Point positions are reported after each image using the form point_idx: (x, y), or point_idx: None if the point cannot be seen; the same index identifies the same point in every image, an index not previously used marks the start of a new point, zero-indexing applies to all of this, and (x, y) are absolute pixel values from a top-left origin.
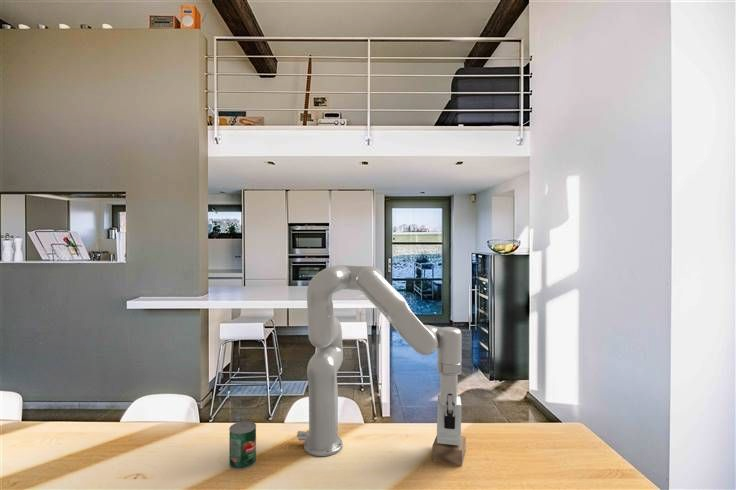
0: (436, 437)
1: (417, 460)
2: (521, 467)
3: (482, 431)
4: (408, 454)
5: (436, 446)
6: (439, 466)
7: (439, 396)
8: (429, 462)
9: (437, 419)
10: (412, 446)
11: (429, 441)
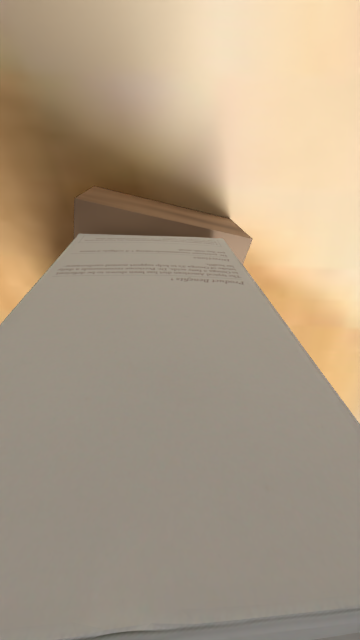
0: (184, 227)
1: (64, 85)
2: None
3: (330, 378)
4: (119, 4)
5: (75, 224)
6: (50, 220)
7: (341, 634)
8: (68, 167)
9: (33, 315)
10: (226, 44)
11: (280, 173)
